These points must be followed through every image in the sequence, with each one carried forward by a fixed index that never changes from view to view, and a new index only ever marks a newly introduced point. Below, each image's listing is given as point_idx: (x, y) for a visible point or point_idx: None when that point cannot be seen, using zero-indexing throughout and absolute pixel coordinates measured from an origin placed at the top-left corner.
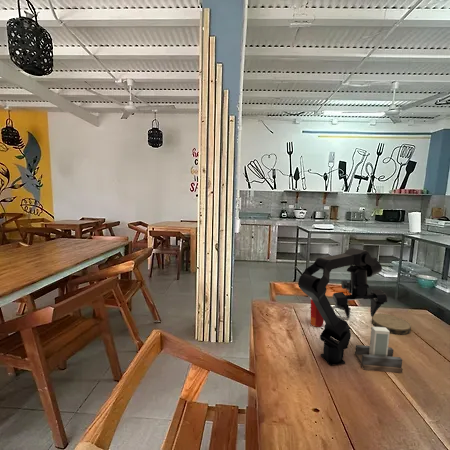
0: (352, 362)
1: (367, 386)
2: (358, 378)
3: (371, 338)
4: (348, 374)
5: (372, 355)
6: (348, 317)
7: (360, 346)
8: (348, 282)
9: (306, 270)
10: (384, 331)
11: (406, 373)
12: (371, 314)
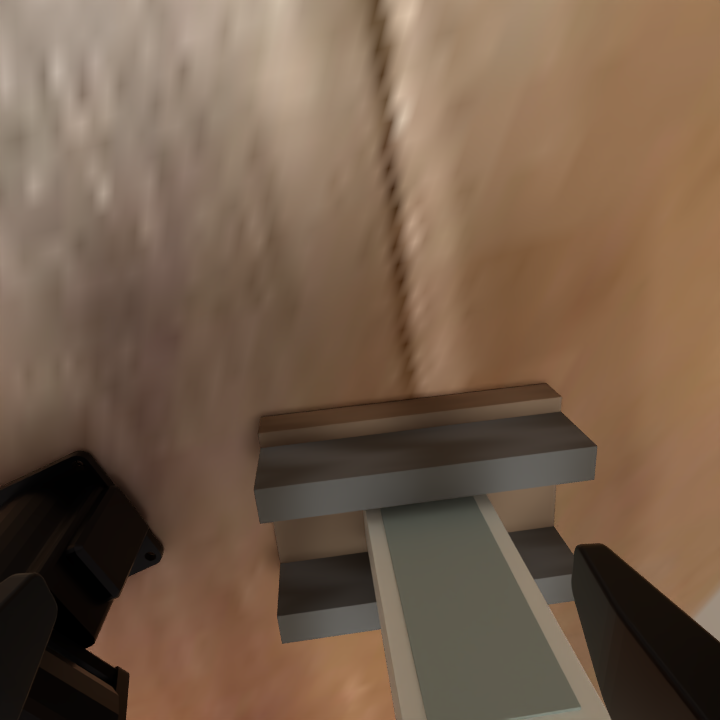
0: (224, 521)
1: (269, 703)
2: (231, 660)
3: (388, 651)
4: (173, 644)
5: (361, 608)
6: (40, 643)
7: (293, 508)
8: None
9: None
10: None
11: (564, 538)
12: (589, 619)
